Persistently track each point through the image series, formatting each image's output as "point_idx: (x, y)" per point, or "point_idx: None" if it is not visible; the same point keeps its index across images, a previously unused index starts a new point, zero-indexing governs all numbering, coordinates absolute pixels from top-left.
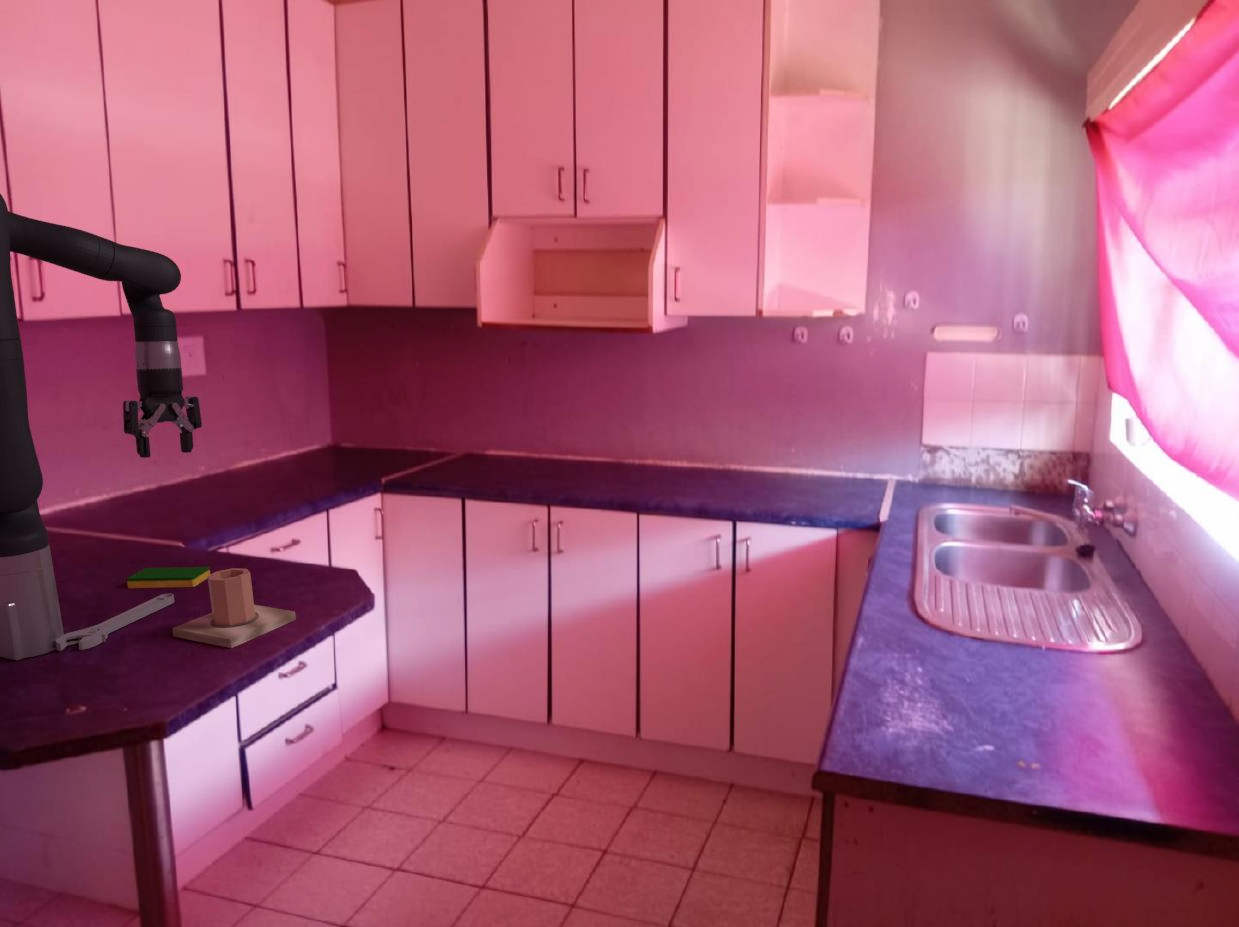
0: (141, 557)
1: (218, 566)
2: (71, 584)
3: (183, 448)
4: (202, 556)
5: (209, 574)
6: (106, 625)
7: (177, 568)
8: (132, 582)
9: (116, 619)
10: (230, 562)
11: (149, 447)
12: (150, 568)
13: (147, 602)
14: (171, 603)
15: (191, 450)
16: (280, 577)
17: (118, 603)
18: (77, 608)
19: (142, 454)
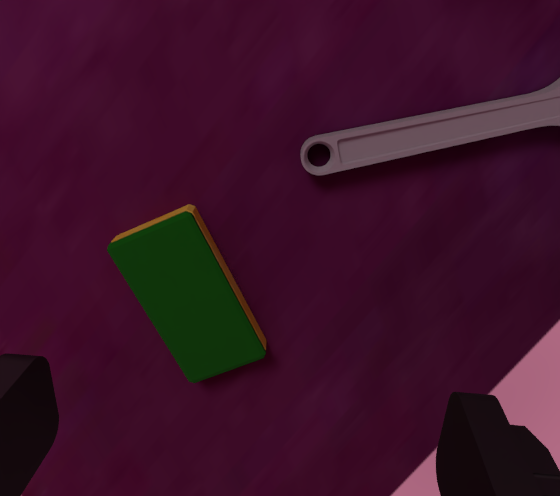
0: (107, 487)
1: (55, 281)
2: (295, 462)
3: (37, 431)
4: None
5: (118, 235)
6: (545, 99)
7: (157, 311)
8: (261, 339)
9: (497, 120)
10: (17, 280)
11: (488, 456)
12: (188, 369)
13: (375, 157)
14: (318, 135)
15: (4, 356)
16: (21, 24)
17: (354, 269)
18: (407, 324)
19: (522, 433)
